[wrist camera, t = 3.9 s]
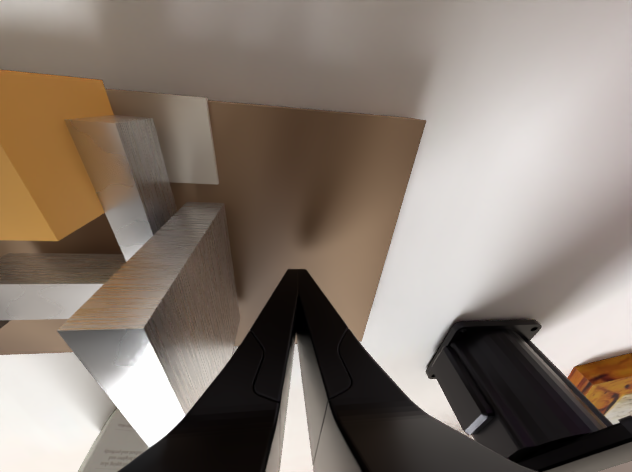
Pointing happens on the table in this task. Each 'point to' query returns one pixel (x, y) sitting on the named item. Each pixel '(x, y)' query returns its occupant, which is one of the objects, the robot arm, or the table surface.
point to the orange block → (45, 155)
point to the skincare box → (114, 446)
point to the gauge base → (265, 199)
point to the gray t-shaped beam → (137, 282)
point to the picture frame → (607, 385)
